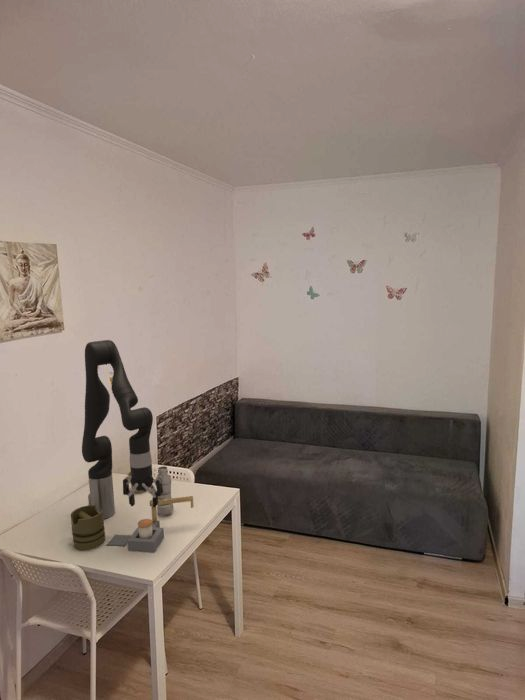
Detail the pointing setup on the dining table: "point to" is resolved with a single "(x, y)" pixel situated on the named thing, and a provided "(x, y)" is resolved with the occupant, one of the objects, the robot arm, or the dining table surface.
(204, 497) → the dining table surface
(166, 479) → the plastic bottle
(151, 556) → the dining table surface
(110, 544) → the mat
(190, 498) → the lever
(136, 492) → the flower pot
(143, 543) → the socket block
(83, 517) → the piston
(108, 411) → the robot arm
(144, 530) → the plug
